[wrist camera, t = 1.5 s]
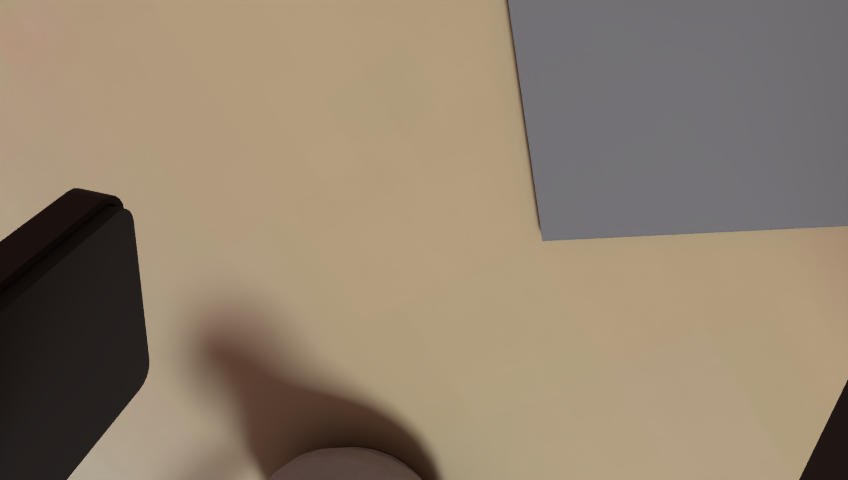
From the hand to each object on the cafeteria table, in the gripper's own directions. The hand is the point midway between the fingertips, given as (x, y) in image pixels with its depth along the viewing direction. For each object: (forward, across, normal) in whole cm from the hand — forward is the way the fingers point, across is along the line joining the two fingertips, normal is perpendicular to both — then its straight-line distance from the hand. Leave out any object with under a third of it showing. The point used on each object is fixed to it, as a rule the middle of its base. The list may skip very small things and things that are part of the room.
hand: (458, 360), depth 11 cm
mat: (+24, -7, +3) cm, 25 cm away
